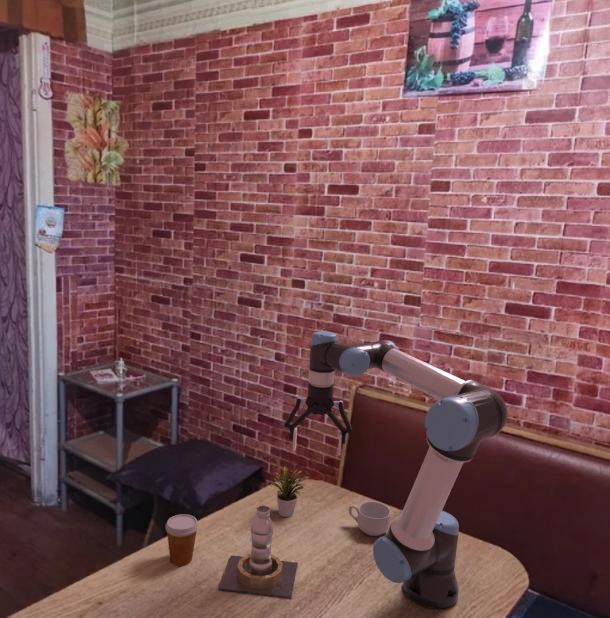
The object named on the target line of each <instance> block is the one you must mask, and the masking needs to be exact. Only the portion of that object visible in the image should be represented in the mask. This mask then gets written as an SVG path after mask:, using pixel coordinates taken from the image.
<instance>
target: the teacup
mask: <svg viewBox="0 0 610 618" xmlns="http://www.w3.org/2000/svg"><path fill="white" fill-rule="evenodd" d="M353 509H355V511H356V513H357V515H355V514H354V512H353ZM348 514H349V516H350V517H351V518H352V519H354V520H355V522H356V523H357V525H358V528H359V529H360V530H361V532H363V533H364V534H365V535H367V536H370V537H378V536H379V537H380V536H381V535H383V534H384V533H385V534H386V533H387V532H388V529H389V527H390V521H391V514H392V510H391V508H390V507H389V506H388V505H386V504H384V503H383V502H380V501H374V500H373V501H372V500H369V501H364V502H361V503H360V504H359V505H357V504H354V503H353V504H351V505H350V506H349V507H348Z"/></svg>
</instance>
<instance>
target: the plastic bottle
mask: <svg viewBox="0 0 610 618" xmlns="http://www.w3.org/2000/svg"><path fill="white" fill-rule="evenodd" d="M255 511H256V513H255V517H254V518H253V520H252V521H251V523H250V537H251V550H250V552H251V553H250V554H251V558H250V561H249V572H250V574H251V575H255V576H266V575H270V573H271V571H272V560H271V555H272V540H273V535H274V531H275V530H274V529H275V525H274V522H273V520H272V519H271V517H270V516H271V508H270V507H269V506H266V505H259V506H257V507H256V510H255Z"/></svg>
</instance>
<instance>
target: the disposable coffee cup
mask: <svg viewBox="0 0 610 618" xmlns="http://www.w3.org/2000/svg"><path fill="white" fill-rule="evenodd" d="M199 526H200V524H199V522H198V520H197V518H196V517H195V516H194V515H191V514H176V515H174V516H171V517H169V518H168V520H167V522H166V523H165V526H164V527H165V528H164V529H165V531H166V533H167V542H168V544H167V545H168V553H169V562H170V563H171V565H173V566H178V567H179V566H180V567H182V566H186V565H188V564H190V563H191V562H192V561H193V555H194V548H195V543H196V537H197V531H198V530H199Z"/></svg>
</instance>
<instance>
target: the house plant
mask: <svg viewBox="0 0 610 618" xmlns="http://www.w3.org/2000/svg"><path fill="white" fill-rule="evenodd" d="M302 471H303V469H301V470H299V471H298V468H296V470H295V471H293V474H292V475H289V470H288V468H287V467H286V466H285V465H284V467H283V474H282V475H281V474H279V473H278V472H276V471H274V474H275V475H276V478H273V479H274V480H275V482H271V483H269V484H270V485H271V486H274V487H276V488H278V490H277V492H276V493H277V495H276V501H277V508H278V515H280V516H281V517H284V518H290V517H293V516H294V514H295V510H296V505H297V500H298V496H299V497H301V493H300V491H299V490H306V486H308V485H306V484H305V485H304V484H302V483H300V482H302V481H307V478H309V476H303V477H301V478H299V476H300V474H301V473H302ZM281 476H282V477H281ZM298 478H299V479H298ZM276 482H277V483H276Z"/></svg>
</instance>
